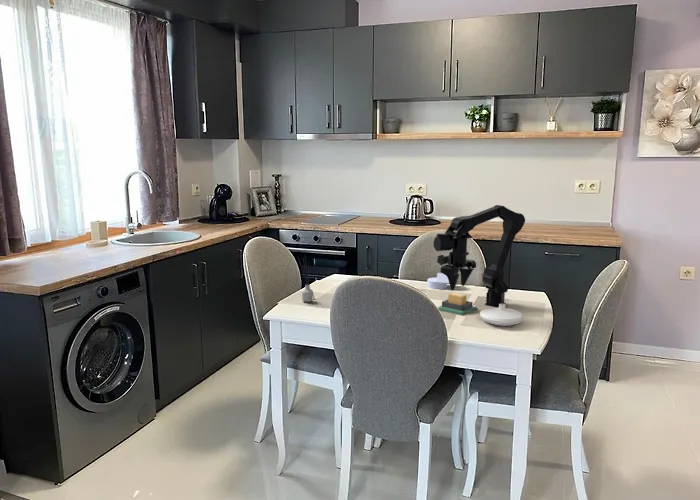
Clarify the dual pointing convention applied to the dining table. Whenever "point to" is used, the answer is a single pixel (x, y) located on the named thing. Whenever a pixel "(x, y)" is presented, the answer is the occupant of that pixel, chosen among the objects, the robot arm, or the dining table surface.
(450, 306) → the socket board
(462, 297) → the plug
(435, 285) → the wedge on round base
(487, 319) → the vase
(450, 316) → the dining table surface
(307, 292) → the reed diffuser
